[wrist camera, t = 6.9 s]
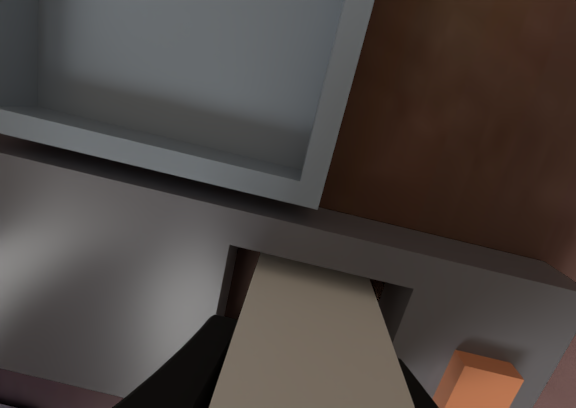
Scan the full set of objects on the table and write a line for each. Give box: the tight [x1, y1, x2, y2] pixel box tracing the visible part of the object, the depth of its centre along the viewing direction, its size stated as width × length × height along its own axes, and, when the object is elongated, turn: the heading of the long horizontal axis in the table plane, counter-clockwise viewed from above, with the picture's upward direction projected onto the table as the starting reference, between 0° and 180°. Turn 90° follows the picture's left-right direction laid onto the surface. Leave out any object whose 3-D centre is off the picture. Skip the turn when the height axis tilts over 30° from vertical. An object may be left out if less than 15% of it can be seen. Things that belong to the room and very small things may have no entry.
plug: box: [209, 252, 415, 408], centre depth 8 cm, size 3×3×7 cm
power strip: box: [0, 133, 576, 408], centre depth 10 cm, size 7×25×3 cm, turn 77°
